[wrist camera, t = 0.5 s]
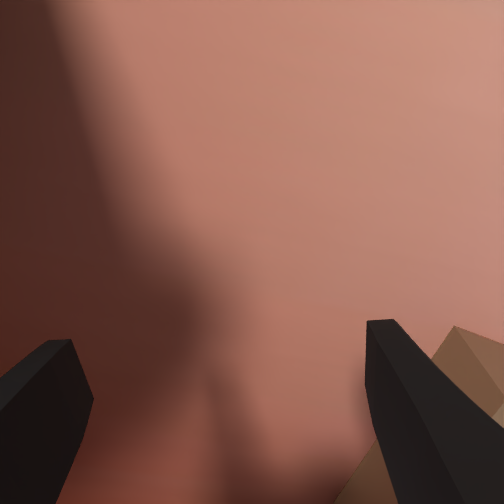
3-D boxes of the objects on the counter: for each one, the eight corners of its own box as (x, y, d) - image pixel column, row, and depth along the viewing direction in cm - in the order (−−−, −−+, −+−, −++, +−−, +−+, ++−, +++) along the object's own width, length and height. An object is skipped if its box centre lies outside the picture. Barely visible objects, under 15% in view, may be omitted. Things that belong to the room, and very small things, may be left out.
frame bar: (375, 513, 28) (400, 612, 23) (333, 500, 28) (347, 597, 23) (503, 343, 23) (570, 422, 18) (452, 323, 23) (506, 399, 18)
